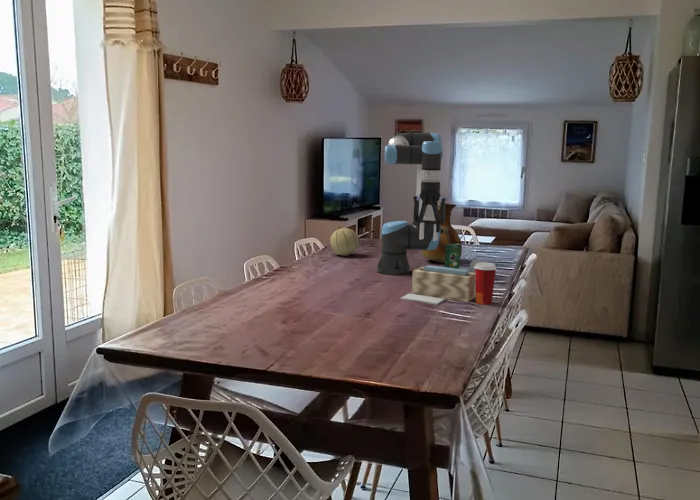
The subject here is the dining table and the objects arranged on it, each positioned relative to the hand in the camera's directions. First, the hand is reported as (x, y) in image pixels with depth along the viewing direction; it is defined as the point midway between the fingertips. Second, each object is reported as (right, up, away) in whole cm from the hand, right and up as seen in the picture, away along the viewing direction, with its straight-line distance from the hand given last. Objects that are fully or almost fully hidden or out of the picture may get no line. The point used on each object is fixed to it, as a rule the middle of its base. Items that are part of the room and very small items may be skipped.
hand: (428, 239), depth 258 cm
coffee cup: (+20, -24, -10) cm, 33 cm away
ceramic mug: (+28, -16, +36) cm, 49 cm away
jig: (+7, -22, 0) cm, 23 cm away
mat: (-3, -23, -7) cm, 25 cm away
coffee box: (+16, -14, +45) cm, 50 cm away
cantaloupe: (-34, -7, +81) cm, 88 cm away
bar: (+7, -15, -1) cm, 17 cm away
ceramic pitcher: (+15, -10, +69) cm, 71 cm away
